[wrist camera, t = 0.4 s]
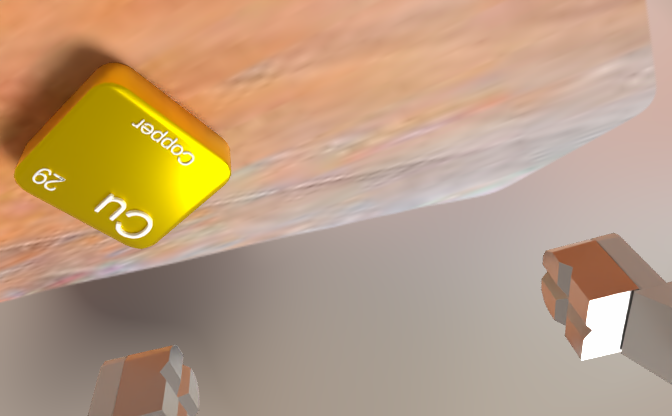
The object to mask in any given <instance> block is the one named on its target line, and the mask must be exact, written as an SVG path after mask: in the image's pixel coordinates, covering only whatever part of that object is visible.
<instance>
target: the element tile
mask: <svg viewBox="0 0 672 416" xmlns="http://www.w3.org/2000/svg"><path fill="white" fill-rule="evenodd" d="M230 176H231V160H230V148H229V146H228V144H227V143H226V142H225V140H224V139H223V138H221V137H220V136H219V135H217V134H216V133H215V132H214V131H212V130H211V129H210V128H208V127H207V126H206V125H204V124H203V123H202V122H201V121H199V120H198V119H197V118H195V117H194V116H193V115H192V114H190V113H189V112H188V111H186V110H185V109H184V108H183V107H181V106H180V105H179V104H177V103H176V102H175V101H173V100H172V99H171V98H170V97H168V96H167V95H166V94H164V93H163V92H162V91H161V90H159V89H158V88H157V87H155V86H154V85H153V84H152V83H150V82H149V81H148V80H146V79H145V78H144V77H142V76H141V75H140V74H139V73H137V72H136V71H135V70H133V69H132V68H130V67H128V66H126V65H123V64H120V63H108V64H105V65H103V66H101V67H99V68H98V69H97V70H96V71H95V72H94V73H93V74H92V75H91V76H90V77H89V78H88V79H87V80H86V81H85V83H84V84H83V85H82V86H81V87H80V88H79V89H78V90H77V91H76V92H75V93H74V94H73V95H72V96H71V97H70V99H69V100H68V101H67V102H66V103H65V104H64V105H63V106H62V107H61V108H60V109H59V110H58V111H57V112H56V113H55V114H54V116H53V117H52V118H51V119H50V120H49V121H48V122H47V123H46V124H45V125H44V126H43V127H42V128H41V129H40V130H39V132H38V133H37V134H36V135H35V136H34V137H33V138H32V139H31V140H30V141H29V142H28V143H27V144H26V147H25V149H24V151H23V153H22V155H21V157H20V160H19V162H18V164H17V166H16V168H15V172H14V178H15V181H16V183H17V184H18V185H19V186H20V187H21V188H22V189H23V190H25V191H26V192H28V193H30V194H31V195H33V196H35V197H37V198H39V199H41V200H43V201H44V202H46V203H48V204H50V205H52V206H54V207H56V208H58V209H59V210H61V211H63V212H65V213H67V214H69V215H71V216H73V217H74V218H76V219H78V220H80V221H82V222H84V223H86V224H87V225H89V226H91V227H93V228H95V229H97V230H99V231H101V232H102V233H104V234H106V235H108V236H110V237H112V238H114V239H116V240H117V241H119V242H121V243H123V244H125V245H127V246H130V247H133V248H138V249H143V248H147V247H150V246H152V245H154V244H156V243H157V242H158V241H159V240H160V239H162V238H163V237H164V236H165V235H166V234H167V233H169V232H170V231H171V230H172V229H173V228H175V227H176V226H177V225H178V224H179V223H180V222H182V221H183V220H184V219H185V218H186V217H187V216H189V215H190V214H191V213H192V212H193V211H195V210H196V209H197V208H198V207H199V206H200V205H202V204H203V203H204V202H205V201H206V200H208V199H209V198H210V197H211V196H212V195H213V194H215V193H216V192H217V191H218V190H219V189H220V188H222V187H223V186H224V185H225V184H226V183H227V182H228V180H229V178H230Z"/></svg>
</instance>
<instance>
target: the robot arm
mask: <svg viewBox="0 0 672 416" xmlns="http://www.w3.org/2000/svg"><path fill="white" fill-rule="evenodd" d="M543 266H544V267H545V268H546V270H547V273H546V274H545V275H544V277H543V278H542V281H541V284H542V285H541V290H542V294H543V299H544V302H545V305H546V307H547V309H548V311H549V313H550V314H551V316H552V317H553V319H554V320H555V321H557V322H560V323H561V324H563V325H565V326H566V329H565V337H566V338H567V340H568V341H569V343H570V344H571V346H572V347H573V349H574V350H575V352H576V353H577V354H578V356H579V358H580V359H581V360H584V359H589V358H593V357H598V356H602V355H606V354H611V353H615V352H620V351H621V354H623V355H625V356H626V357H628V358H629V359H631V360H633V361H634V362H636V363H637V364H639V365H641V366H643V367H644V368H646V369H648V370H649V371H650V372H652V373H654V374H656V375H657V376H659V377H661V378H662V379H663V380H665V381H667V382H669V383H670V384H672V282H668V283H666V282H665V281H664V280H663V279H662V278H661V277H660V276H659V275H658V274H657V273H656V272H655V271H654V270H653V269H652V268H651V267H650V266H649V265H648V264H647V263H646V262H645V261H644V260H643V259H642V258H641V257H640V256H639V255H638V254H637V253H636V252H635V251H634V250H633V249H632V248H631V247H630V246H629V245H628V244H627V243H626V242H625V241H624V240H623V239H622V238H621V237H620V236H619V235H618V234H615V233H611V234H608V235H604V236H600V237H596V238H592V239H590V240H584V241H581V242H577V243H573V244H569V245H566V246H562V247H558V248H554V249H550V250H546V251H545V253H544V255H543ZM199 401H200V397H199V389H198V383H197V380H196V377H195V375H194V373H193V371H192V369H191V368H190V367H188V366H185V365H183V354H182V352H181V351H180V349H179V348H178V346H176V345H175V346H174V345H172V346H168V347H164V348H160V349H155V350H150V351H146V352H141V353H137V354H133V355H128V356H126V357H121V358H117V359H112V360H108V361H105V362H104V364H103V365H102V366H101V368H100V371H99V375H98V379H97V383H96V387H95V390H94V394H93V398H92V402H91V405H90V409H89V413H88V416H196V414H197V413H198V411H199Z"/></svg>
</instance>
